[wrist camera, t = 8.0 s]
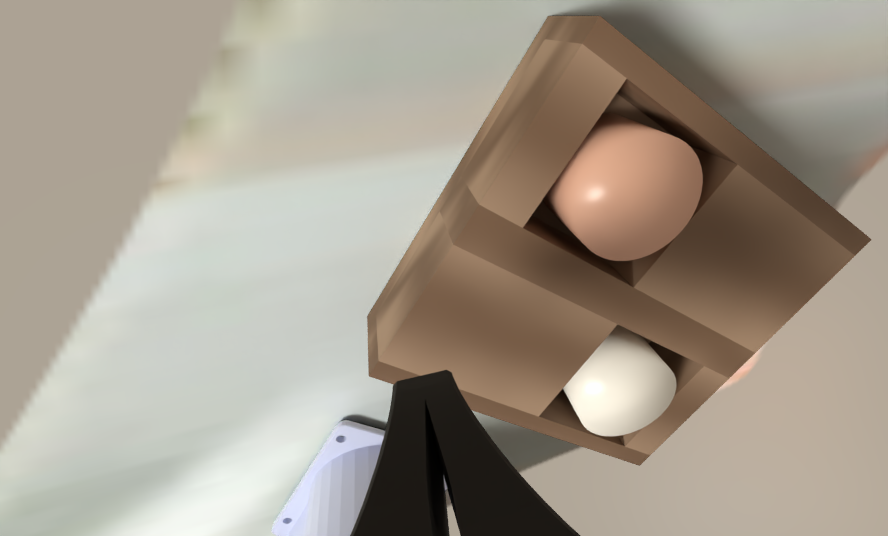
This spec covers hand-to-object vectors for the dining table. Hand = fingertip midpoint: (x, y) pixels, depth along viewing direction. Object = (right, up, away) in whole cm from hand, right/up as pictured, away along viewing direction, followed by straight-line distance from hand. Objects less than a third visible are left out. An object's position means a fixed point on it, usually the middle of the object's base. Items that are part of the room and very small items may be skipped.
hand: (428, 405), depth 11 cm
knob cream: (+8, -1, +11) cm, 14 cm away
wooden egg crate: (+7, +4, +10) cm, 13 cm away
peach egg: (+6, +7, +7) cm, 12 cm away
